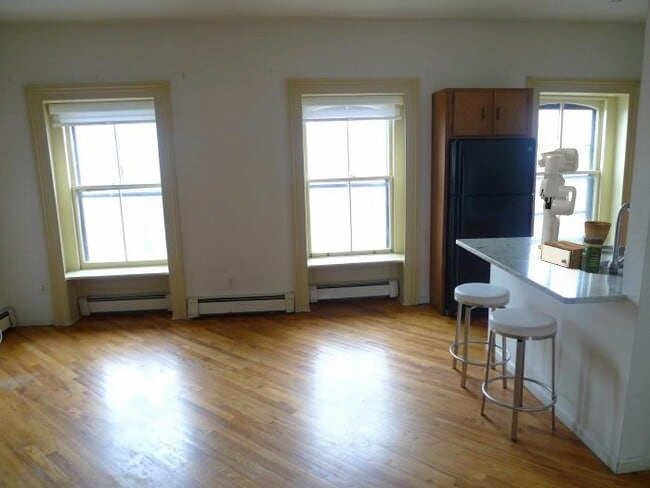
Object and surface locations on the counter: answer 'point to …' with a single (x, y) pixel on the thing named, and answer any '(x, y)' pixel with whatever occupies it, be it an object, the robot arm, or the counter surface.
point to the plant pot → (597, 229)
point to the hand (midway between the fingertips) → (547, 209)
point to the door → (555, 255)
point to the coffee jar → (591, 254)
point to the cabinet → (569, 246)
